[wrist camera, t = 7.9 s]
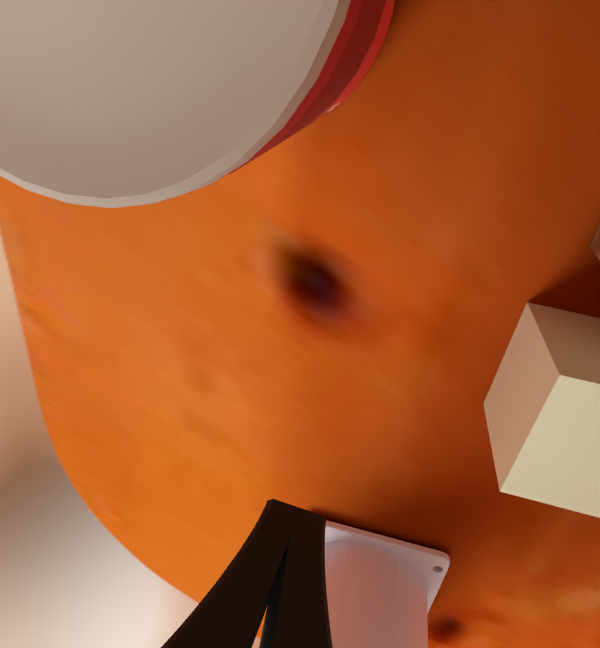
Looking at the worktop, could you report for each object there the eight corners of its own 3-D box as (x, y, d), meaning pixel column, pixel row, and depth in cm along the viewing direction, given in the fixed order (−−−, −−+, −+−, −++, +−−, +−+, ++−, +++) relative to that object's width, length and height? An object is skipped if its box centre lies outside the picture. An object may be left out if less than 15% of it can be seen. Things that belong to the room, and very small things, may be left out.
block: (603, 431, 20) (653, 531, 16) (483, 402, 21) (499, 491, 16) (665, 331, 18) (744, 417, 13) (526, 301, 18) (559, 374, 14)
